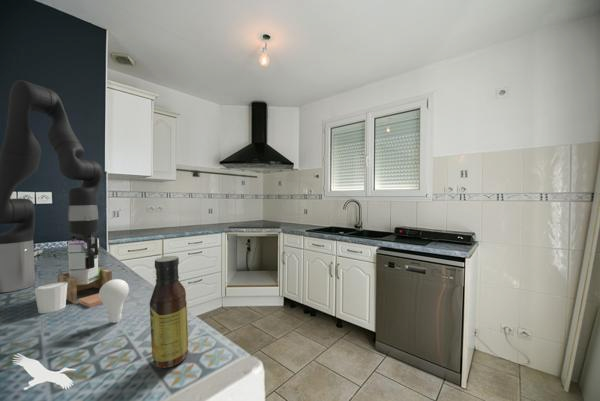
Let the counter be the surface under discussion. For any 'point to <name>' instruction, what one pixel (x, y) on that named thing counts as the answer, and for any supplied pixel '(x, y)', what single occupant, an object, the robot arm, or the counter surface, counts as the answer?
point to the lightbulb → (114, 298)
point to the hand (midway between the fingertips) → (84, 266)
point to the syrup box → (82, 264)
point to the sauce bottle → (168, 315)
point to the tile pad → (91, 300)
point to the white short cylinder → (51, 297)
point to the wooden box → (73, 288)
